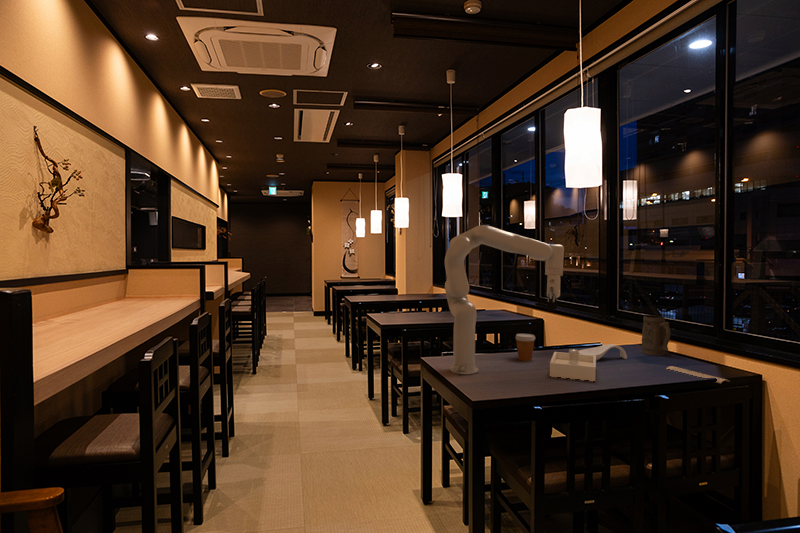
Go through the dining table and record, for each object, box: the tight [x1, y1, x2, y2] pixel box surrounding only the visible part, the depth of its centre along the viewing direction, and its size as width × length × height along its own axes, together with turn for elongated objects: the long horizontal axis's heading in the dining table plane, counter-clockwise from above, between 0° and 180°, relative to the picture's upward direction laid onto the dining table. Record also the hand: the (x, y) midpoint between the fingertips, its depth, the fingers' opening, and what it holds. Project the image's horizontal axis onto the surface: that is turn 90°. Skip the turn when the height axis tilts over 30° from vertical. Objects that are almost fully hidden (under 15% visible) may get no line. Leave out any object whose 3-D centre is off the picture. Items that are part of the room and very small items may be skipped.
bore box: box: [549, 351, 597, 382], centre depth 203 cm, size 22×18×6 cm
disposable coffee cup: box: [515, 333, 536, 362], centre depth 226 cm, size 10×10×12 cm
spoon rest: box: [578, 343, 628, 361], centre depth 228 cm, size 24×12×7 cm, turn 96°
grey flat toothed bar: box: [665, 365, 731, 384], centre depth 200 cm, size 24×7×2 cm, turn 26°
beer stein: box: [641, 314, 672, 357], centre depth 237 cm, size 15×11×20 cm
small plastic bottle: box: [568, 348, 580, 365], centre depth 203 cm, size 4×4×10 cm
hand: (552, 309), depth 208 cm, fingers open, 9 cm apart
